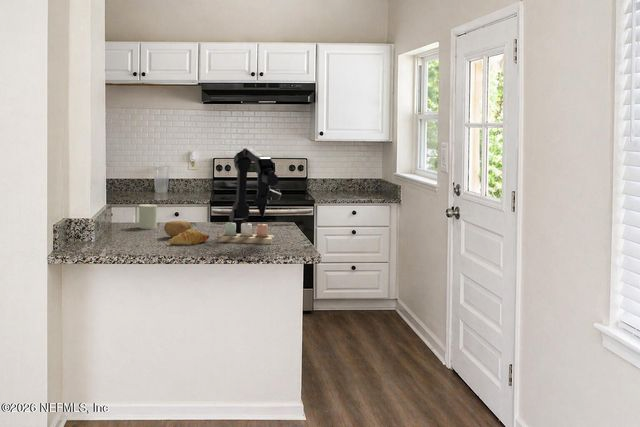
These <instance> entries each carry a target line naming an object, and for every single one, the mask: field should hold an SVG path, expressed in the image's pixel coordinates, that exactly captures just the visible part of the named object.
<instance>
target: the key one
mask: <svg viewBox="0 0 640 427" xmlns="http://www.w3.org/2000/svg"><path fill="white" fill-rule="evenodd" d="M224 226H225V228H224V229H225V231H224V233H225V235H227V236H235V235H236V234H237V233H236V223H232V222H226V223H225V225H224Z"/></svg>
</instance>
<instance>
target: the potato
mask: <svg viewBox="0 0 640 427" xmlns="http://www.w3.org/2000/svg"><path fill="white" fill-rule="evenodd" d="M189 229H192V224H191V223H190V222H189V221H185V220H175V221H174V220H173V221H167V222H165V224H164V226H163V230H164V232H165V234H166V235H167V236H169V237H172V238H173V237H174V236H177V235H179V234H180V233H183V232H185V231H186V230H189Z"/></svg>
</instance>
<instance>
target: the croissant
mask: <svg viewBox="0 0 640 427" xmlns="http://www.w3.org/2000/svg"><path fill="white" fill-rule="evenodd" d="M209 238H210V235H208V234H206V233H202V232H201V231H198V230H197V229H195V228H191V229H189V230H186V231H185V232H183V233H180V234H179V235H177V236H174V237H172V238H169V239H168V243H169V244H170V245H179V246H181V245H183V246H190V245H198V244H201V243H204V242H207V241H208V240H209Z"/></svg>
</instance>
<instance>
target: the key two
mask: <svg viewBox="0 0 640 427" xmlns="http://www.w3.org/2000/svg"><path fill="white" fill-rule="evenodd" d="M252 225H253V223H247V222H246V223H243V224H241V236H252V230H253V228H252V227H253V226H252Z"/></svg>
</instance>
